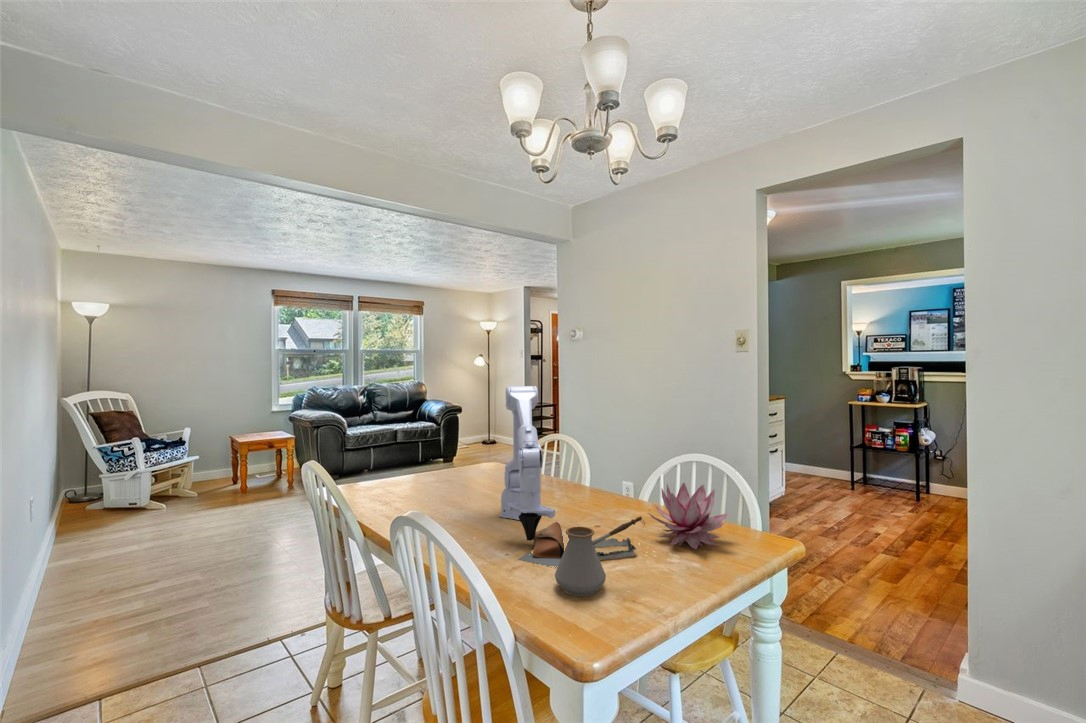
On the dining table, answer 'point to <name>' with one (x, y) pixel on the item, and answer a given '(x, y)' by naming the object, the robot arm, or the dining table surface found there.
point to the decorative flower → (690, 516)
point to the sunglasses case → (549, 542)
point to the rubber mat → (540, 560)
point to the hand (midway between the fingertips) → (530, 539)
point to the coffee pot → (583, 561)
